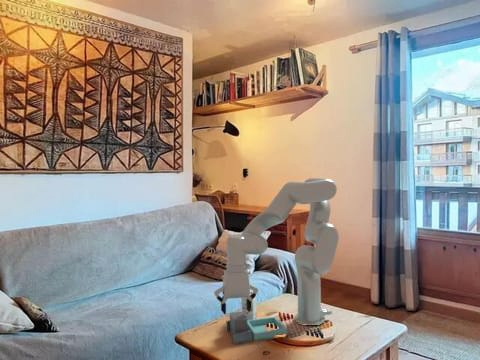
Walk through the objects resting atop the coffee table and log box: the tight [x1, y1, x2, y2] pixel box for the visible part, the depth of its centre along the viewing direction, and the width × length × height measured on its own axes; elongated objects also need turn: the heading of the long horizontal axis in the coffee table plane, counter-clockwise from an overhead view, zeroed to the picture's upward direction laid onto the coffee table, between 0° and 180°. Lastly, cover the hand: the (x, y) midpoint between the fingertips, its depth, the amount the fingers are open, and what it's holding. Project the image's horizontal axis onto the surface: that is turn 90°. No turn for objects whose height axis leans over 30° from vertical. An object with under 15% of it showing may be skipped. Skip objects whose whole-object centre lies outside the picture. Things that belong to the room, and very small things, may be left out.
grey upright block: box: [229, 310, 248, 338], centre depth 151 cm, size 5×8×8 cm, turn 14°
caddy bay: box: [225, 319, 253, 345], centre depth 152 cm, size 7×12×4 cm, turn 14°
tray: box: [247, 316, 288, 343], centre depth 154 cm, size 13×13×3 cm
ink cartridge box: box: [241, 283, 257, 320], centre depth 166 cm, size 9×5×15 cm, turn 168°
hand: (236, 311), depth 151 cm, fingers open, 9 cm apart
